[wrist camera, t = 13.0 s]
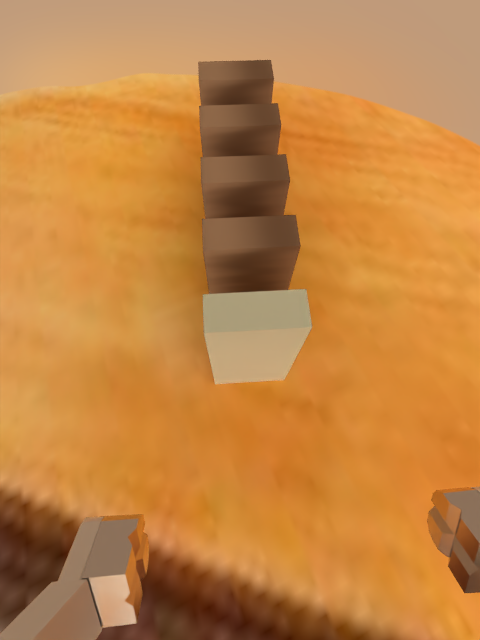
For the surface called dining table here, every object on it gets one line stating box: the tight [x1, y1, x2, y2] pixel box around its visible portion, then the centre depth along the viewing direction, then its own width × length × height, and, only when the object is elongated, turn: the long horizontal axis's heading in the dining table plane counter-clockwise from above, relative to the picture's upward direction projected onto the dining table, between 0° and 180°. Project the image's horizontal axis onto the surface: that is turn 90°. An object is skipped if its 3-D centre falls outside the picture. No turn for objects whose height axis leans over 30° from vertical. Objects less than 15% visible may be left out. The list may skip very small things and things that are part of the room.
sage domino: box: [203, 289, 312, 384], centre depth 21 cm, size 5×2×10 cm, turn 94°
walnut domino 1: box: [198, 60, 274, 106], centre depth 28 cm, size 5×2×10 cm, turn 94°
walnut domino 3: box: [201, 154, 290, 219], centre depth 25 cm, size 5×2×10 cm, turn 94°
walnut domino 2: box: [199, 103, 281, 157], centre depth 26 cm, size 5×2×10 cm, turn 94°
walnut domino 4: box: [202, 215, 300, 294], centre depth 23 cm, size 5×2×10 cm, turn 94°
